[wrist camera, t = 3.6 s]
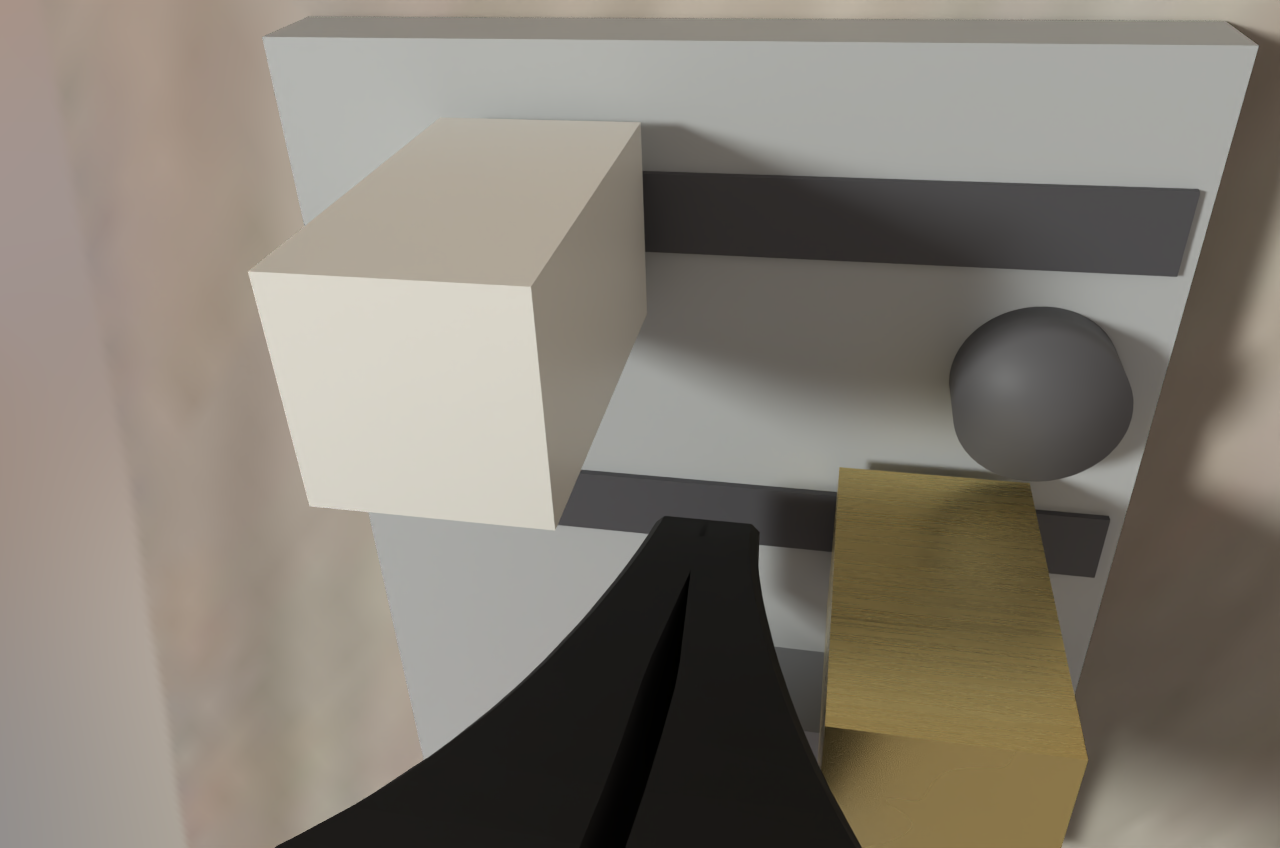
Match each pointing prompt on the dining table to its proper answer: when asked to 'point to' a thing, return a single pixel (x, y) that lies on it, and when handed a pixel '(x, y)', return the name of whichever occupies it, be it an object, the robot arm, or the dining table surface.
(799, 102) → the panel
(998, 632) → the brass slider
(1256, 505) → the dining table surface
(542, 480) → the white slider
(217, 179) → the dining table surface
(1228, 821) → the dining table surface
